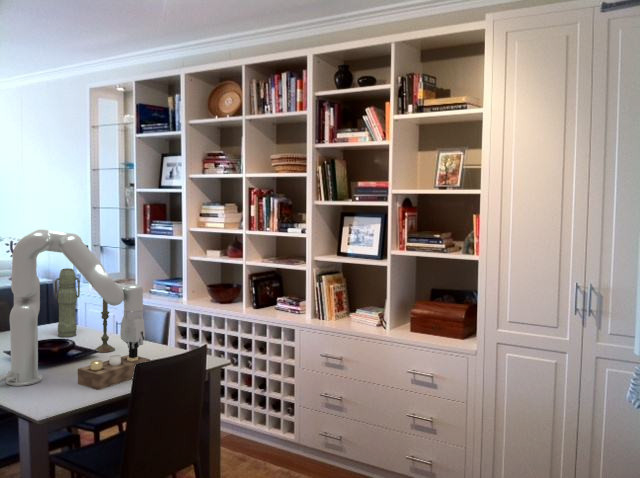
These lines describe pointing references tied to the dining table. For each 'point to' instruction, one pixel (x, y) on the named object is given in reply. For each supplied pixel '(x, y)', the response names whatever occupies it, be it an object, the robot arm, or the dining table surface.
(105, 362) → the wooden block
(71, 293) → the thermos
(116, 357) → the middle white knob
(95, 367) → the near brass knob
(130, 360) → the far brass knob
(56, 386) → the dining table surface
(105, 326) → the candlestick holder
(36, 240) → the robot arm
